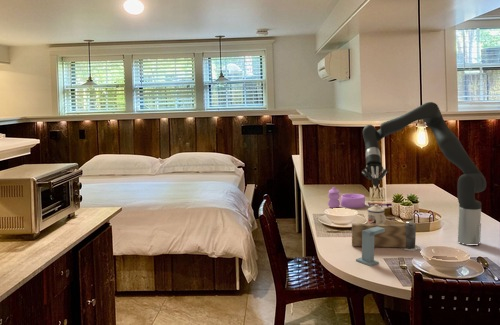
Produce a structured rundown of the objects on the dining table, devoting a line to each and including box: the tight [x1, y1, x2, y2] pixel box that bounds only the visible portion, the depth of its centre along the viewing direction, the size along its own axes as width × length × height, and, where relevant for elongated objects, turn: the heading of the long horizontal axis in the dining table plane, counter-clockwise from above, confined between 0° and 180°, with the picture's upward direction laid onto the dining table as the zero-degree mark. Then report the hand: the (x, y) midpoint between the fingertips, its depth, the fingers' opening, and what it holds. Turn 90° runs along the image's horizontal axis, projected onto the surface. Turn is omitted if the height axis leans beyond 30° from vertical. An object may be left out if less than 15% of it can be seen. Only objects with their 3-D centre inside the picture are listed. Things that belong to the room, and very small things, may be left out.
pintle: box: [399, 220, 421, 252], centre depth 205 cm, size 9×9×12 cm
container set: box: [327, 186, 366, 209], centre depth 289 cm, size 25×15×13 cm, turn 106°
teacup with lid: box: [367, 203, 387, 224], centre depth 241 cm, size 12×9×12 cm
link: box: [351, 223, 417, 248], centre depth 207 cm, size 28×5×10 cm, turn 81°
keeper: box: [355, 226, 385, 267], centre depth 189 cm, size 12×8×14 cm
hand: (375, 185), depth 220 cm, fingers closed
